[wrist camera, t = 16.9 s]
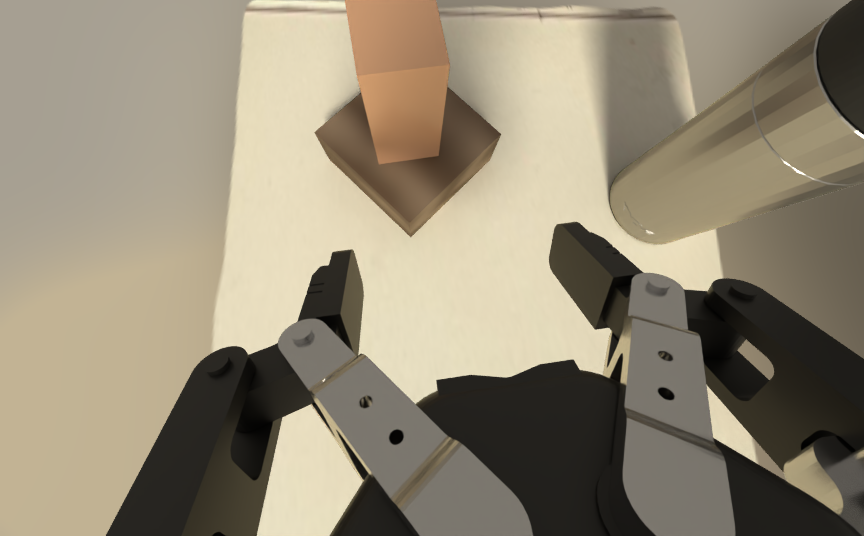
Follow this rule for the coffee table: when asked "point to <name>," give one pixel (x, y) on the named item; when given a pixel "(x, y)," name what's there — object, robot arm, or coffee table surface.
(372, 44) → the peach block
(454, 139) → the walnut block
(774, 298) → the robot arm
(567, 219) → the coffee table surface
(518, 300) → the coffee table surface
